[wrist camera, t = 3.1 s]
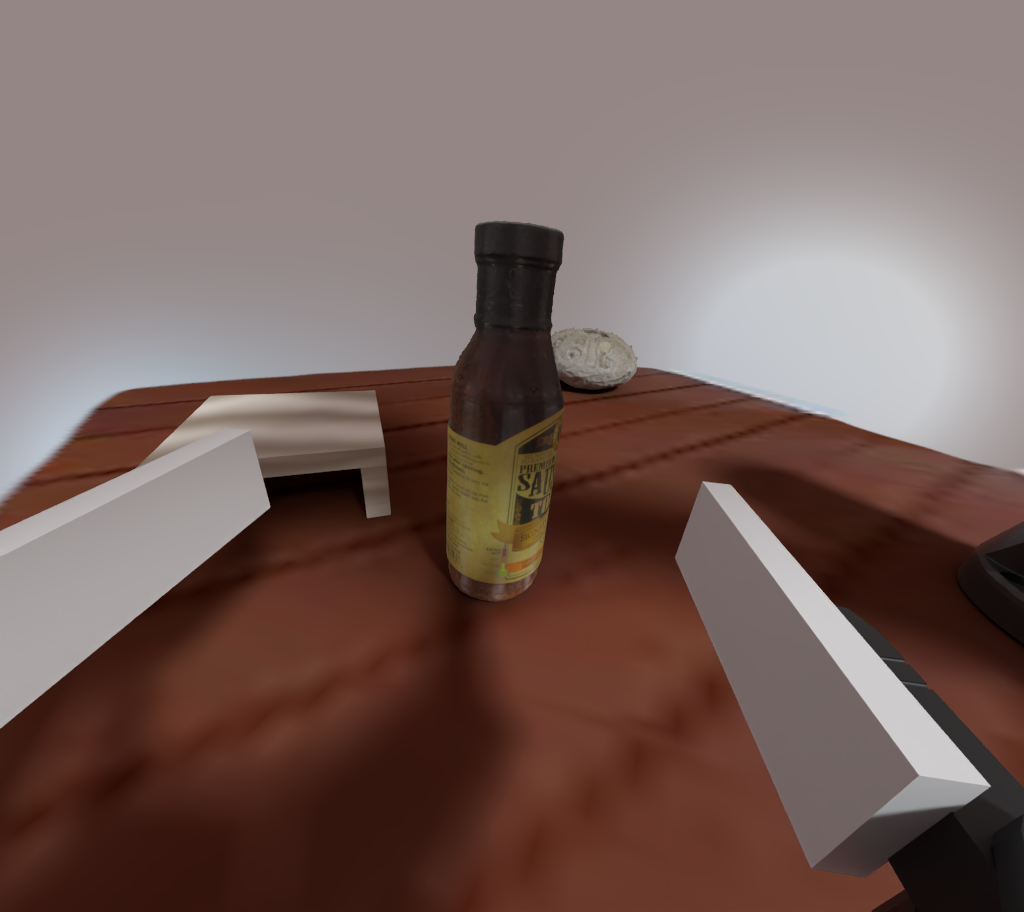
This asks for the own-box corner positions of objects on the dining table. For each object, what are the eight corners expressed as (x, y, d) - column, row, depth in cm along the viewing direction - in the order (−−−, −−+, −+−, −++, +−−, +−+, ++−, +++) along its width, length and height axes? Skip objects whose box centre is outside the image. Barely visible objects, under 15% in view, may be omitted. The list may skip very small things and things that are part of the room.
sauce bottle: (523, 621, 21) (577, 216, 12) (428, 589, 23) (414, 209, 14) (549, 550, 27) (598, 238, 18) (471, 529, 28) (481, 231, 19)
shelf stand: (391, 514, 29) (385, 447, 26) (170, 547, 24) (135, 468, 21) (380, 442, 41) (375, 390, 38) (228, 455, 36) (211, 396, 33)
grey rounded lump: (651, 395, 67) (665, 339, 63) (576, 404, 59) (587, 340, 54) (587, 371, 81) (595, 323, 76) (519, 376, 72) (524, 323, 68)
